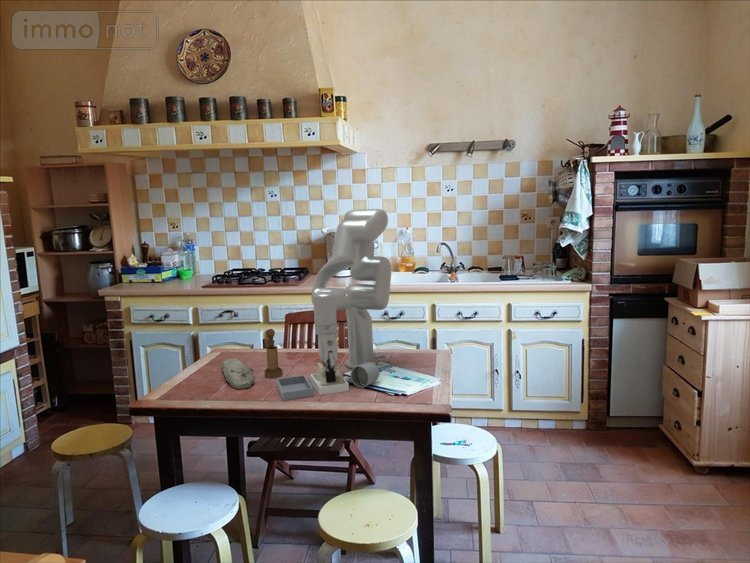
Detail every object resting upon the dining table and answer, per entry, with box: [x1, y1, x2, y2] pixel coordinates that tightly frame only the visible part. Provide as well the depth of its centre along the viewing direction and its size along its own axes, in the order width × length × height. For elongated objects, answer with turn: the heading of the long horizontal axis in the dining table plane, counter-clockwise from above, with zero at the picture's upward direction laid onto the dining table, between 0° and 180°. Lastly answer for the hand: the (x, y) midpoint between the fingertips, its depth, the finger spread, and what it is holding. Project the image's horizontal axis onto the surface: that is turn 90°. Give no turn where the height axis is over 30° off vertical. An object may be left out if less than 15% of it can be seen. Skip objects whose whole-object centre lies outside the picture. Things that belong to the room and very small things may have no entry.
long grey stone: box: [221, 357, 256, 390], centre depth 209 cm, size 35×5×10 cm
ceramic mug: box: [347, 362, 380, 389], centre depth 195 cm, size 11×8×8 cm
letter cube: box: [317, 360, 340, 385], centre depth 192 cm, size 6×6×6 cm
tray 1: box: [275, 374, 315, 401], centre depth 190 cm, size 10×15×3 cm, turn 18°
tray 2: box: [310, 372, 350, 396], centre depth 193 cm, size 10×15×3 cm, turn 18°
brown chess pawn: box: [264, 328, 283, 379], centre depth 206 cm, size 7×6×18 cm
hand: (328, 378), depth 193 cm, fingers closed on letter cube, 6 cm apart
